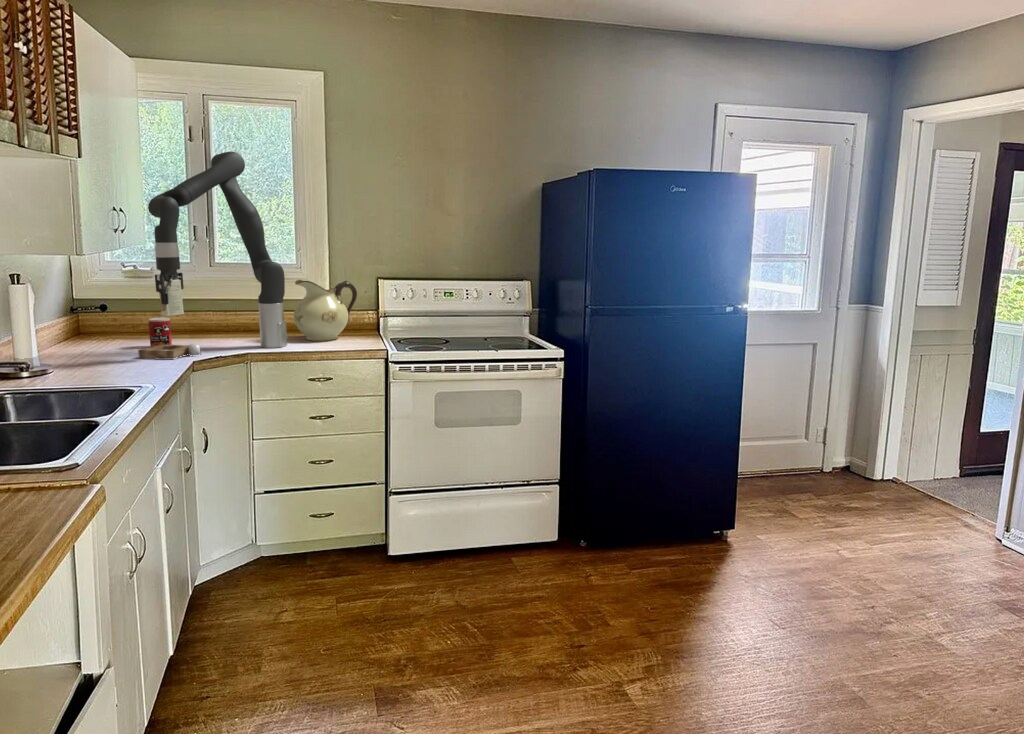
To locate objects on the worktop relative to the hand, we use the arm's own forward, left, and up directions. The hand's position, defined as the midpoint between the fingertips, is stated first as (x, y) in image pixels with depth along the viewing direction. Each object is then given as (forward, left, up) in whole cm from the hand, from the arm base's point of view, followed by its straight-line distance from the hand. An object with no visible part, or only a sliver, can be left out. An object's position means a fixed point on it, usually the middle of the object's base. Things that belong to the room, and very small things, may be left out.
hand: (171, 303), depth 262 cm
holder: (+6, -5, -19) cm, 21 cm away
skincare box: (0, 0, -4) cm, 4 cm away
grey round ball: (-3, -7, -20) cm, 21 cm away
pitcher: (-32, -58, -20) cm, 70 cm away
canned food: (+21, -25, -20) cm, 38 cm away
